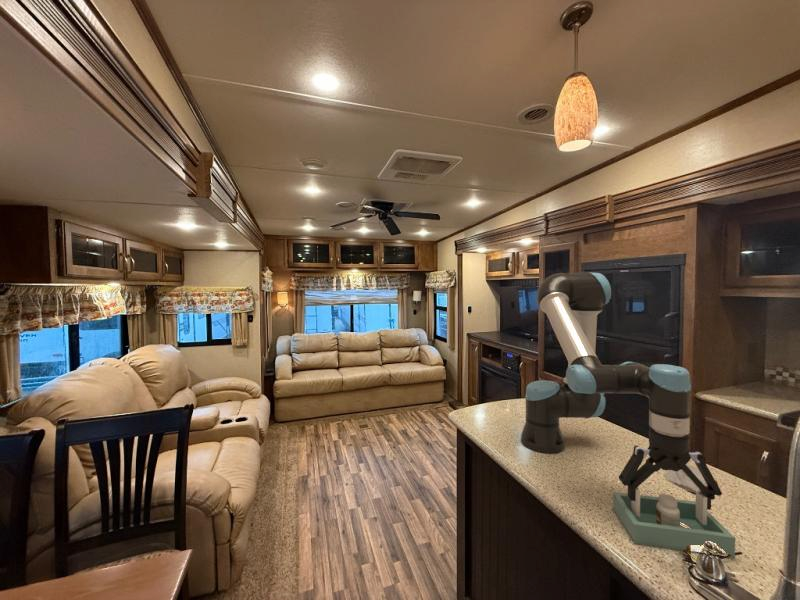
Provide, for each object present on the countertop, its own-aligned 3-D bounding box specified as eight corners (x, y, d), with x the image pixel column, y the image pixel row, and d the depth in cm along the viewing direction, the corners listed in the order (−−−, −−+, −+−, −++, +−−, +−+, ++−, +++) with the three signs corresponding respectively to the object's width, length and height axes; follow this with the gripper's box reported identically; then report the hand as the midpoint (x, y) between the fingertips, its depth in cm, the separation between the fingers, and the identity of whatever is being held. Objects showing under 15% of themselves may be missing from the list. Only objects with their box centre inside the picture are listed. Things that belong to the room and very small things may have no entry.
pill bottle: (656, 519, 82) (656, 489, 82) (679, 527, 79) (679, 496, 79) (655, 530, 78) (656, 498, 78) (679, 538, 76) (680, 506, 75)
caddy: (612, 508, 87) (613, 492, 87) (697, 519, 83) (698, 501, 82) (634, 543, 75) (634, 524, 75) (734, 558, 71) (735, 537, 70)
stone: (657, 478, 101) (657, 467, 101) (680, 469, 105) (680, 459, 105) (697, 497, 92) (698, 485, 91) (721, 487, 96) (721, 475, 96)
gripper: (616, 432, 77) (616, 519, 78) (744, 442, 71) (742, 536, 72) (604, 420, 85) (604, 499, 85) (719, 428, 79) (718, 513, 79)
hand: (667, 516), depth 79 cm, fingers open, 13 cm apart
